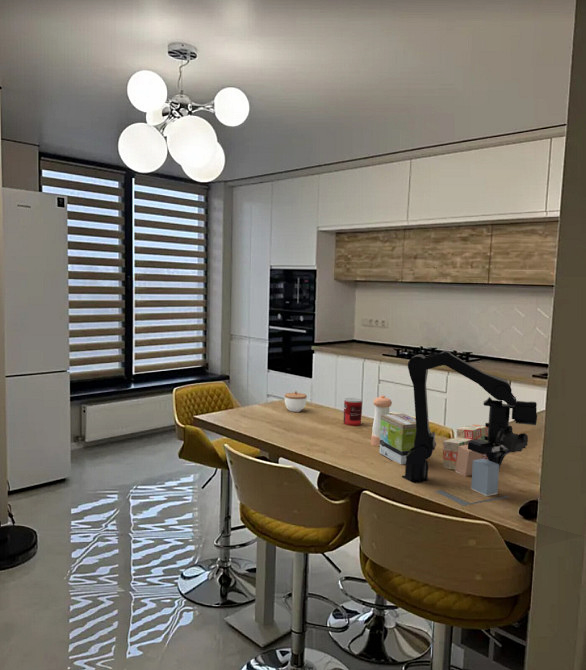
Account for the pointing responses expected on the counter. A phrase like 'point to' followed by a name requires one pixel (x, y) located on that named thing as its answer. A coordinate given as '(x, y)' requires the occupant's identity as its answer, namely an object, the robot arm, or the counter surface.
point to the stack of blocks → (462, 443)
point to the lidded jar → (295, 401)
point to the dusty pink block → (466, 460)
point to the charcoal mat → (463, 500)
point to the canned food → (352, 411)
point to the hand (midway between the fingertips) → (495, 472)
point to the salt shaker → (379, 417)
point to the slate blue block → (485, 477)
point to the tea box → (397, 436)
